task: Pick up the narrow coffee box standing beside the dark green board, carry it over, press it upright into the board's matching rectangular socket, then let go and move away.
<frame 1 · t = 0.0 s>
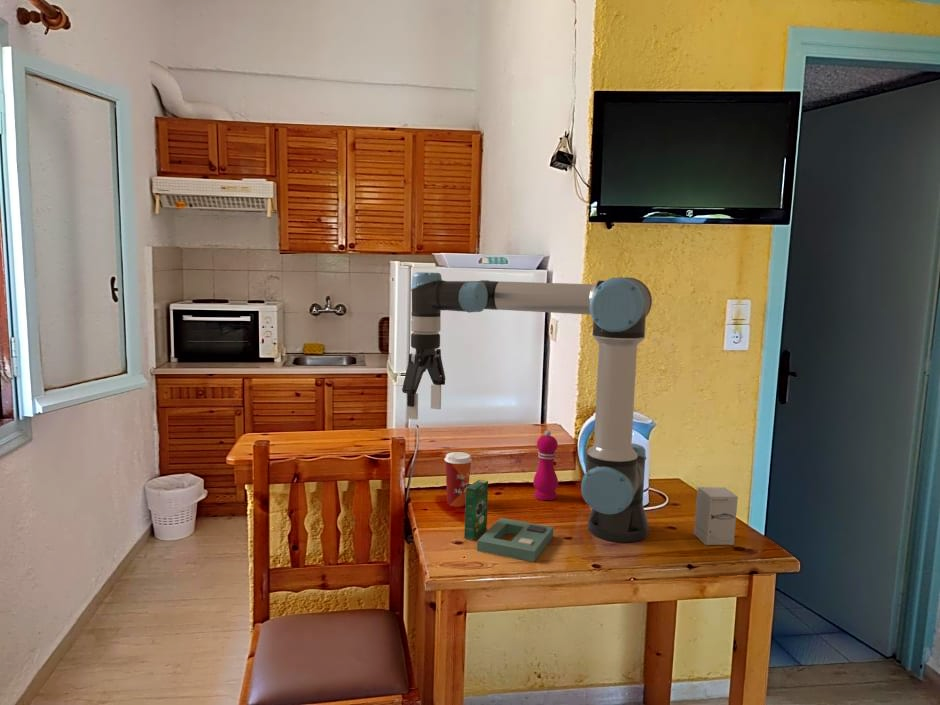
hand: (424, 413, 174), 28 cm above the table, tool pointing down, fingers open, 13 cm apart
paper cup: (457, 504, 189), on the table
coffee box: (475, 535, 167), on the table
pepper mill: (545, 498, 195), on the table
socket board: (516, 543, 162), on the table
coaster: (602, 503, 193), on the table
supplement box: (713, 540, 167), on the table
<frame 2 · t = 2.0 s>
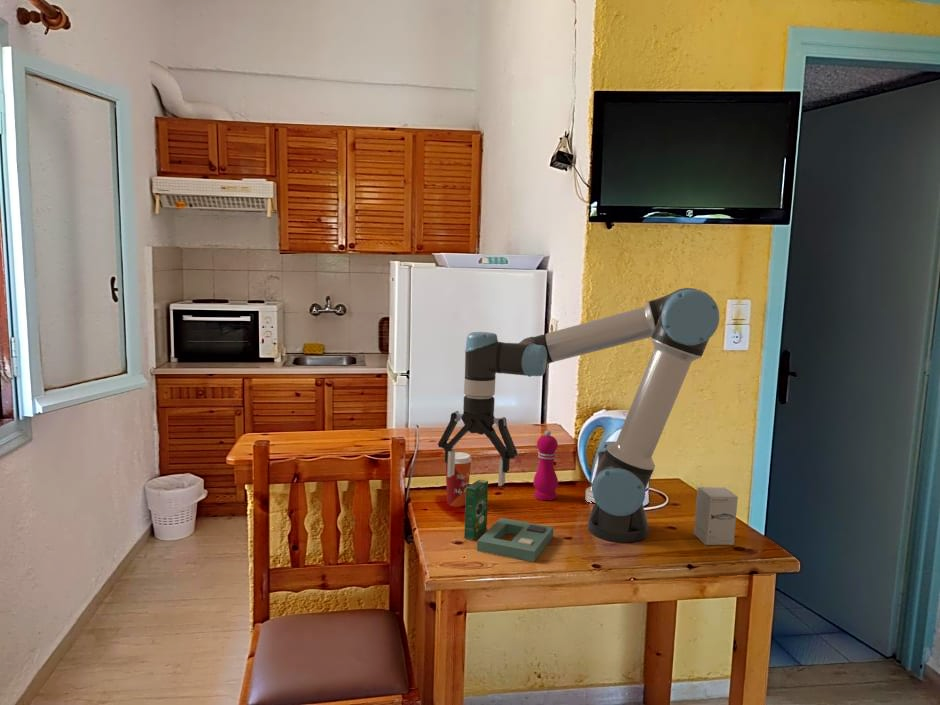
hand: (475, 480, 165), 14 cm above the table, tool pointing down, fingers open, 13 cm apart
nothing on the table moved.
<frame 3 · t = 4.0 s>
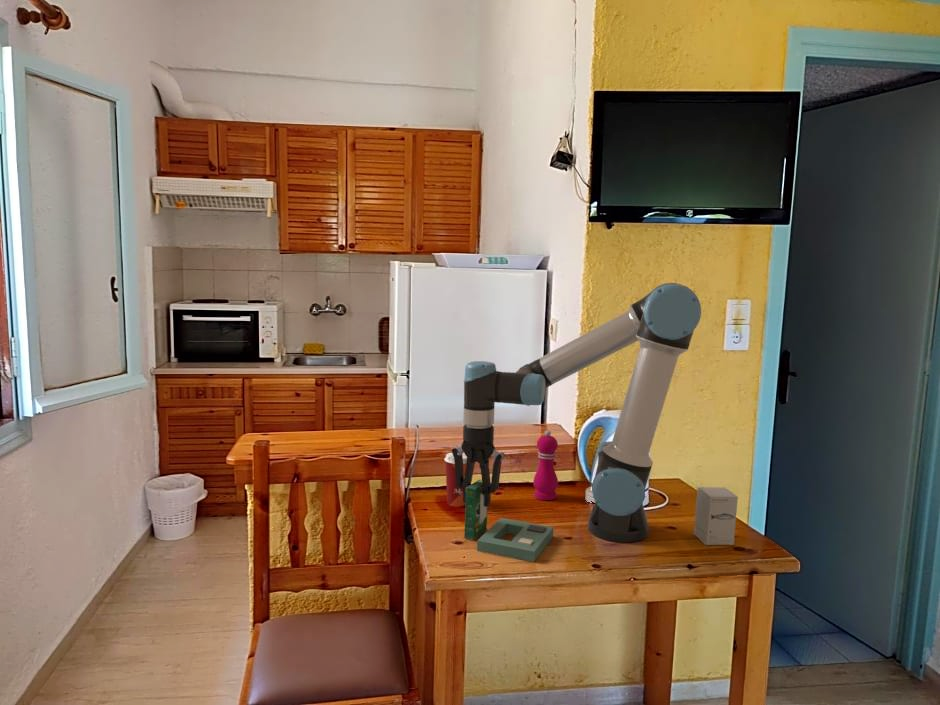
hand: (476, 516, 167), 5 cm above the table, tool pointing down, fingers closed on coffee box, 3 cm apart
coffee box: (475, 534, 167), on the table, touching gripper
everything else where it was.
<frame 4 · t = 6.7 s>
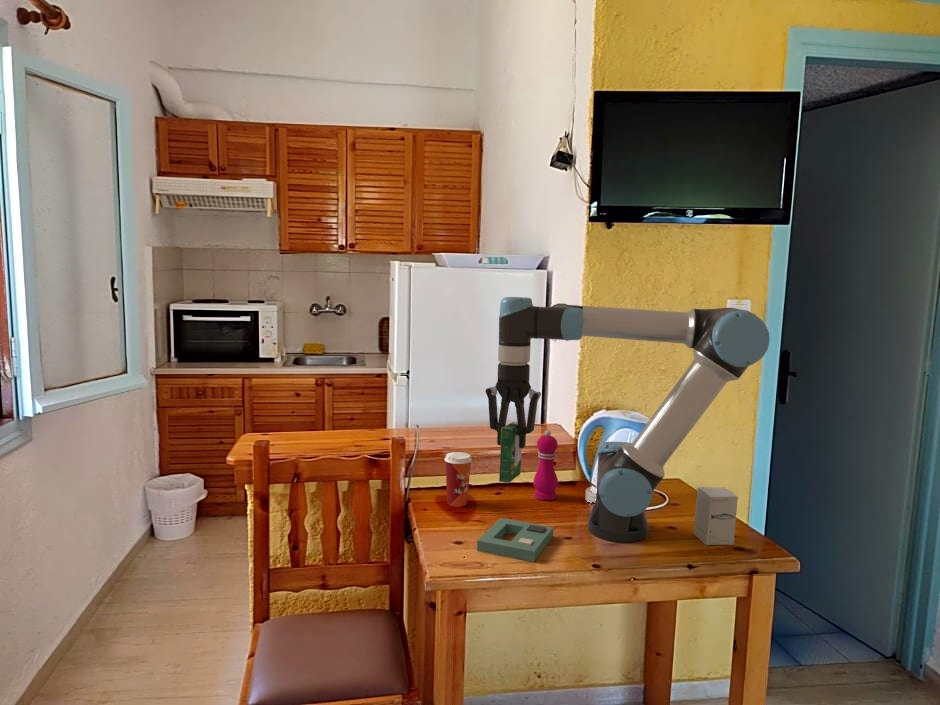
hand: (510, 459, 160), 21 cm above the table, tool pointing down, fingers closed on coffee box, 3 cm apart
coffee box: (509, 478, 161), point 16 cm above the table, touching gripper
everything else where it was.
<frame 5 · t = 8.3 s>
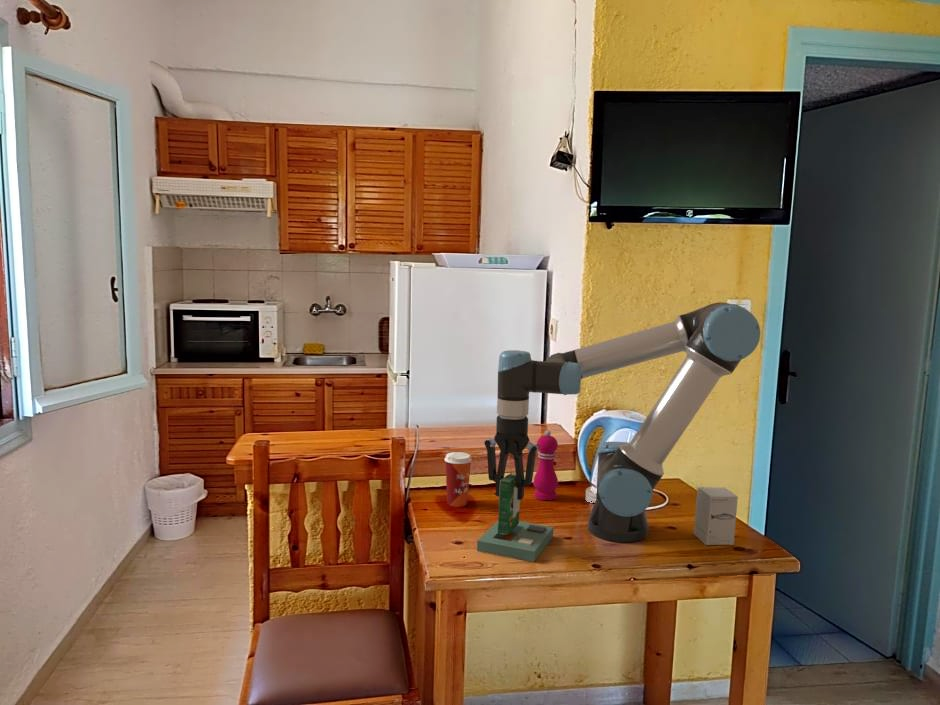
hand: (509, 510, 162), 8 cm above the table, tool pointing down, fingers closed on coffee box, 3 cm apart
coffee box: (508, 529, 162), point 3 cm above the table, touching gripper
everything else where it was.
when the fingers open (5 cm above the table, at t = 9.7 s): coffee box stays where it is, resting in socket board.
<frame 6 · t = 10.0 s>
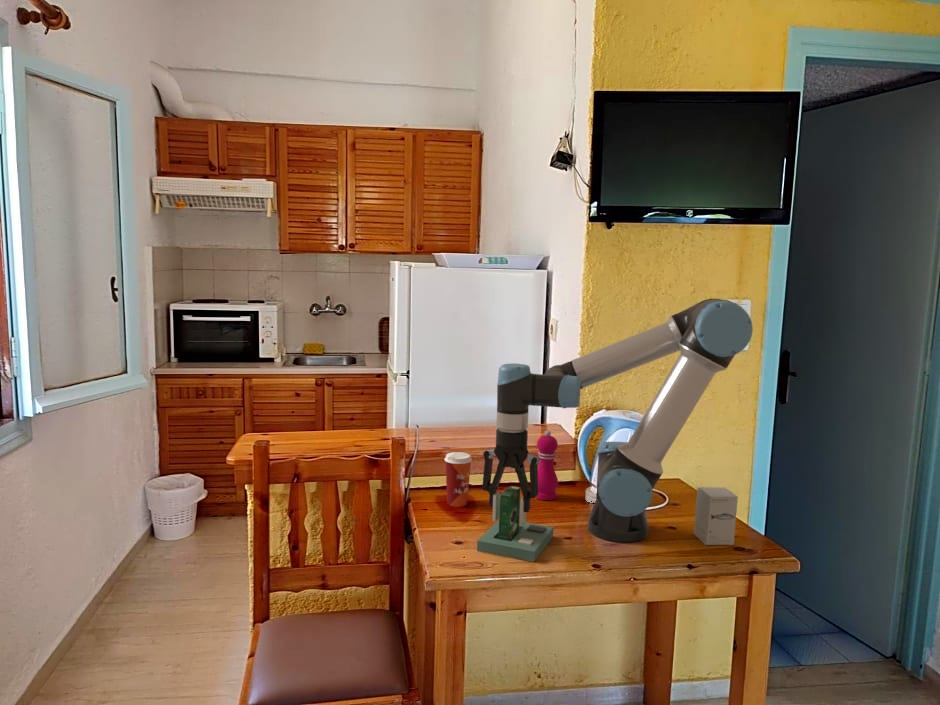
hand: (509, 521, 162), 5 cm above the table, tool pointing down, fingers open, 6 cm apart
coffee box: (508, 542, 163), resting in socket board
everything else where it was.
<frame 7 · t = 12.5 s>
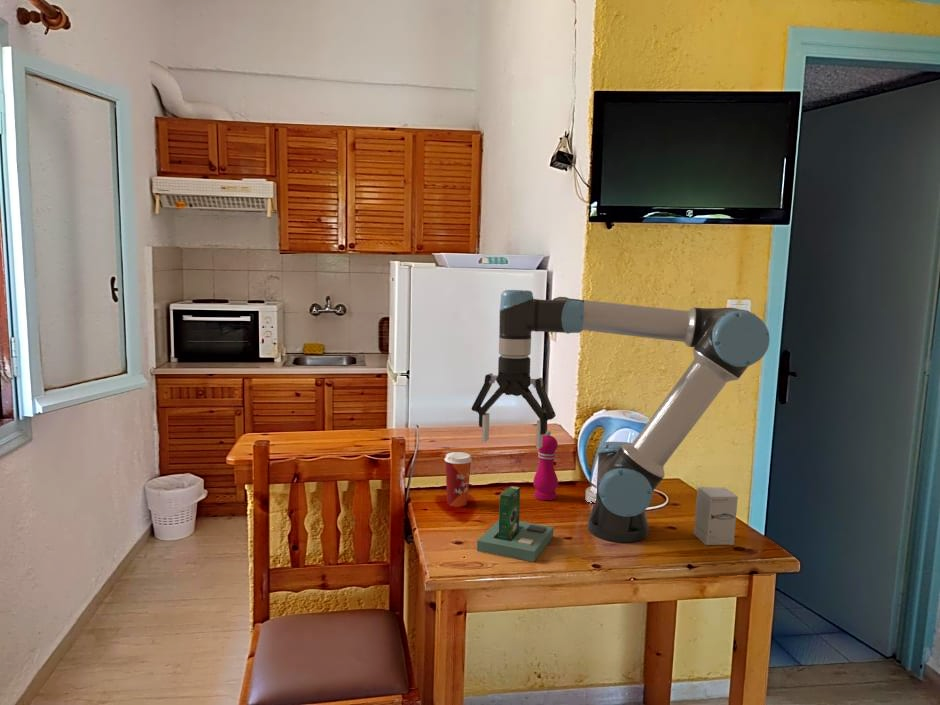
hand: (511, 444, 160), 25 cm above the table, tool pointing down, fingers open, 13 cm apart
nothing on the table moved.
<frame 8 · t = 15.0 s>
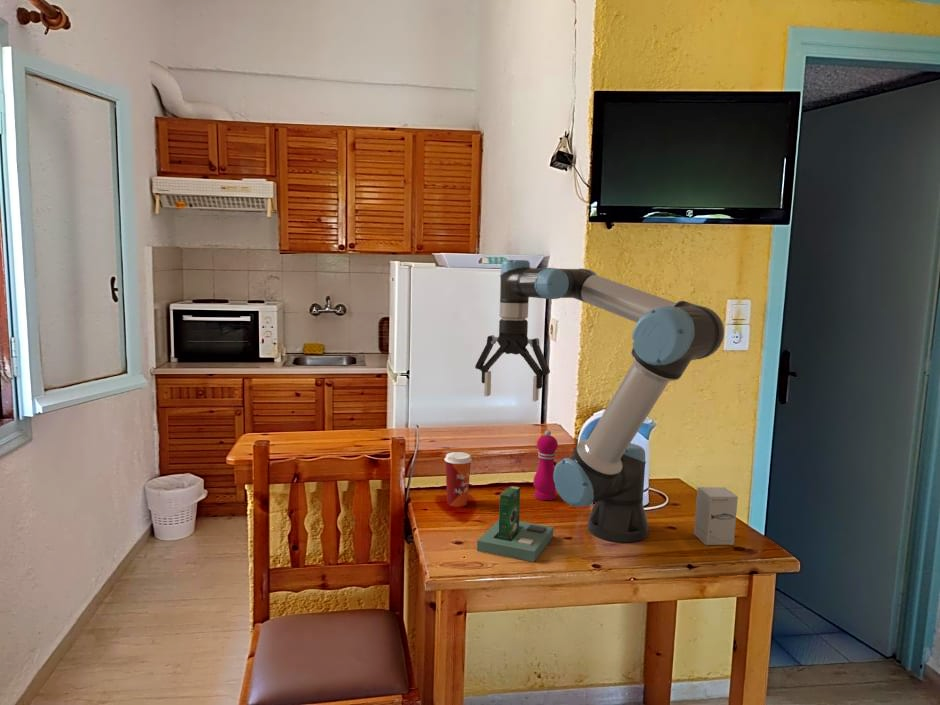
hand: (511, 398, 179), 32 cm above the table, tool pointing down, fingers open, 13 cm apart
nothing on the table moved.
at the end: coffee box 0.0 cm from the target spot on the socket board, point 0.0 cm above the socket board's base; coffee box tilted 0°; the gripper is holding nothing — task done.
